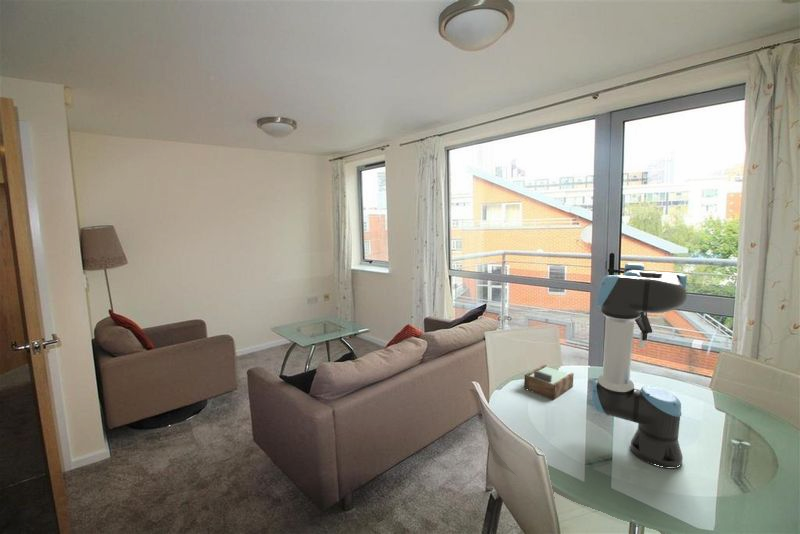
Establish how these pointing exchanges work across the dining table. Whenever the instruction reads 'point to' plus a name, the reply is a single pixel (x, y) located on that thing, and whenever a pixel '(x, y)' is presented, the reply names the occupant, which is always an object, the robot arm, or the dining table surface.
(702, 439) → the dining table surface
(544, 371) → the mint green panel
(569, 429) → the dining table surface
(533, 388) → the box
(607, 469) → the dining table surface
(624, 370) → the robot arm
